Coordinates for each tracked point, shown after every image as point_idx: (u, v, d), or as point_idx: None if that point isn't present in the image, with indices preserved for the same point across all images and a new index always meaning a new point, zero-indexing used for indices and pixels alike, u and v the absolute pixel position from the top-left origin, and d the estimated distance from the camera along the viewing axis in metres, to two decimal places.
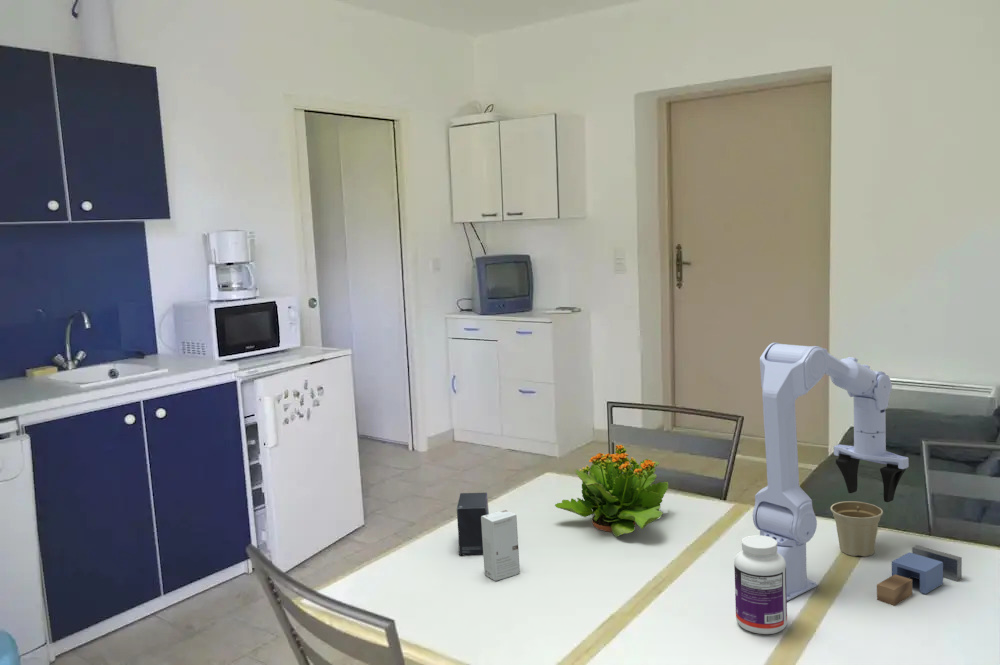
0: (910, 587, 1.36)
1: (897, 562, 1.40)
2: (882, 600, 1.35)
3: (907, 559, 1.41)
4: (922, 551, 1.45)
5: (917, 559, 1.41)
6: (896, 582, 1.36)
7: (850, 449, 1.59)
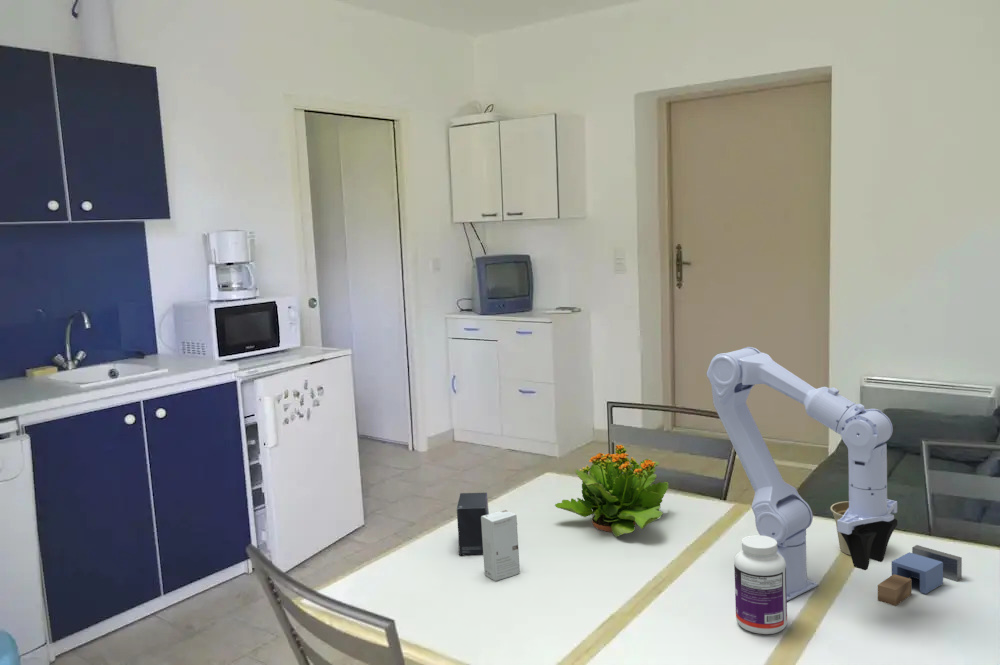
0: (909, 587, 1.36)
1: (897, 562, 1.40)
2: (883, 600, 1.35)
3: (907, 559, 1.41)
4: (922, 551, 1.45)
5: (917, 559, 1.41)
6: (896, 582, 1.36)
7: None
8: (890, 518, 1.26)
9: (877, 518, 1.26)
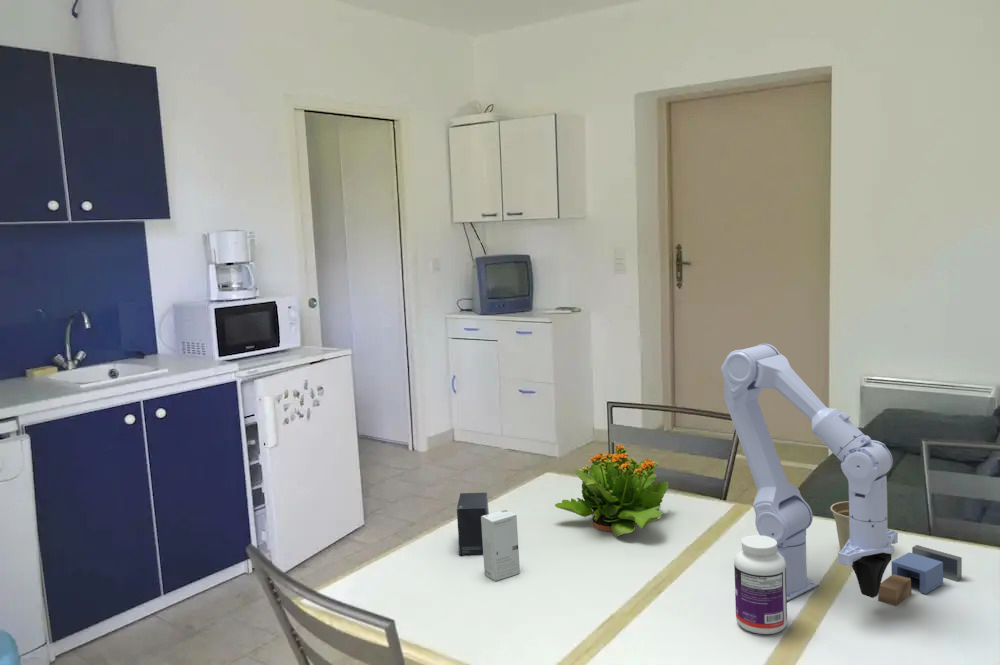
0: (909, 586, 1.36)
1: (897, 562, 1.40)
2: (884, 601, 1.34)
3: (907, 559, 1.41)
4: (922, 551, 1.45)
5: (917, 559, 1.41)
6: (896, 582, 1.36)
7: None
8: (891, 550, 1.27)
9: (878, 550, 1.27)
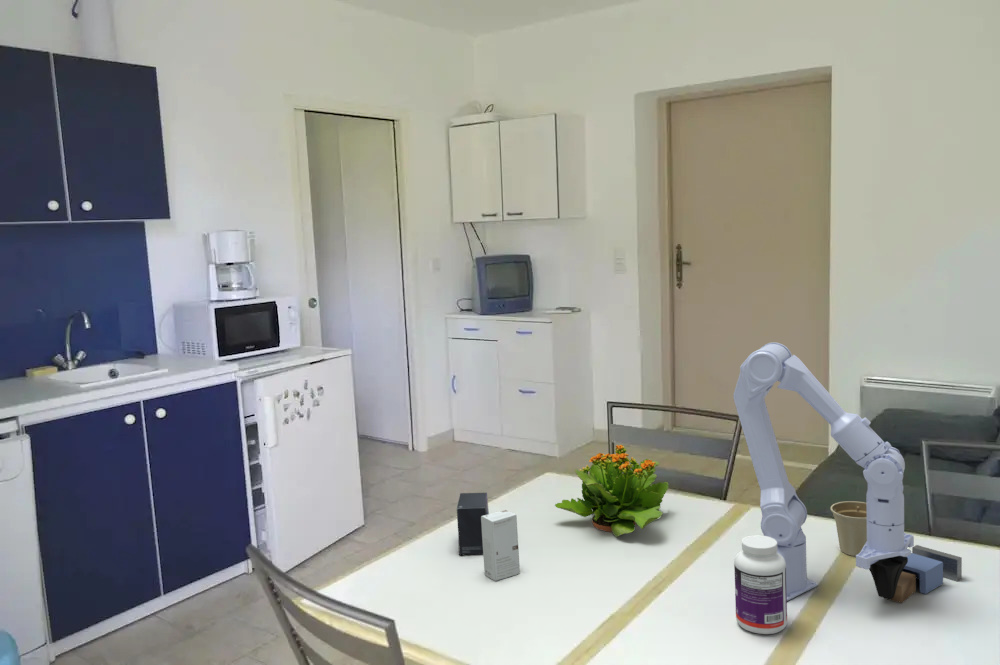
0: (914, 582, 1.37)
1: None
2: None
3: None
4: (922, 551, 1.45)
5: (917, 559, 1.41)
6: (901, 578, 1.36)
7: None
8: (907, 553, 1.30)
9: (895, 553, 1.30)
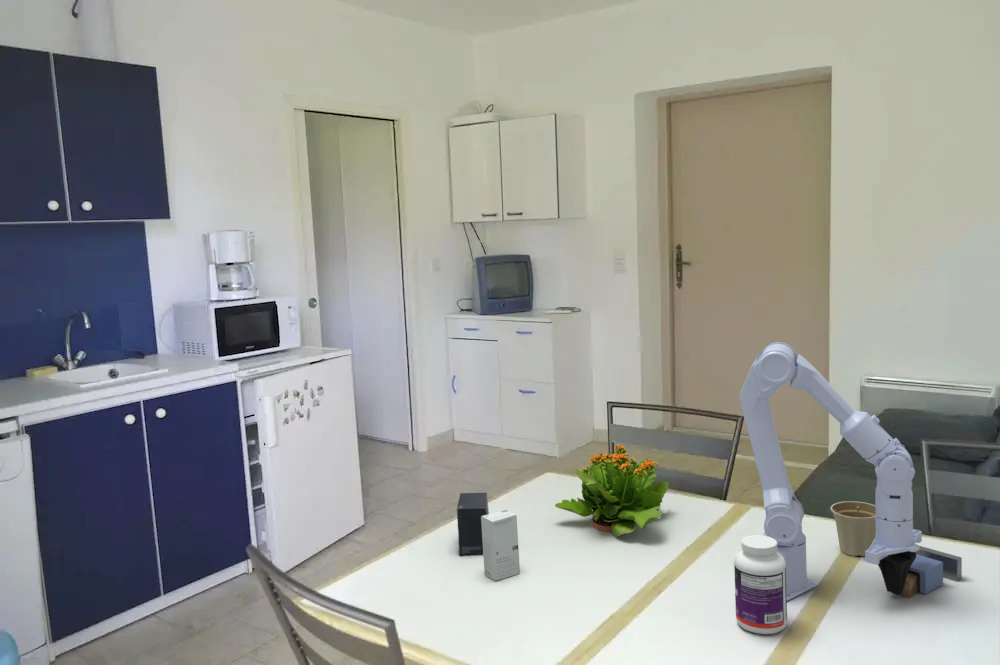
0: None
1: None
2: None
3: None
4: (922, 551, 1.45)
5: (917, 559, 1.41)
6: (909, 573, 1.38)
7: None
8: (916, 549, 1.31)
9: (903, 549, 1.32)
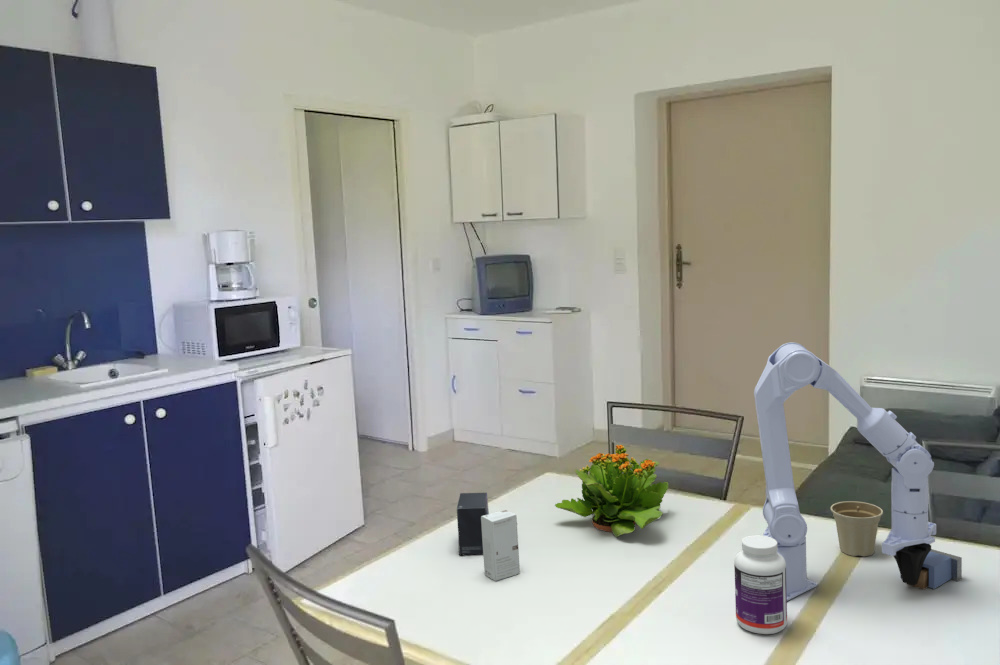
0: None
1: None
2: None
3: None
4: None
5: None
6: None
7: None
8: (931, 541, 1.34)
9: (919, 540, 1.35)
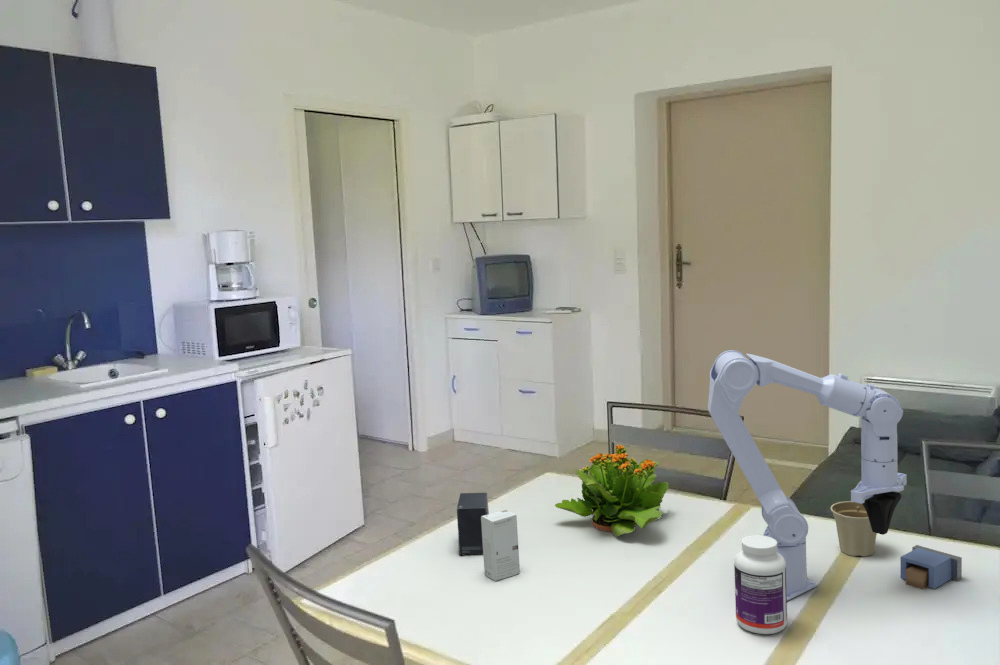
0: None
1: (906, 557, 1.42)
2: (911, 584, 1.40)
3: (915, 554, 1.43)
4: None
5: (926, 554, 1.42)
6: (924, 567, 1.41)
7: None
8: (900, 488, 1.35)
9: (888, 489, 1.35)
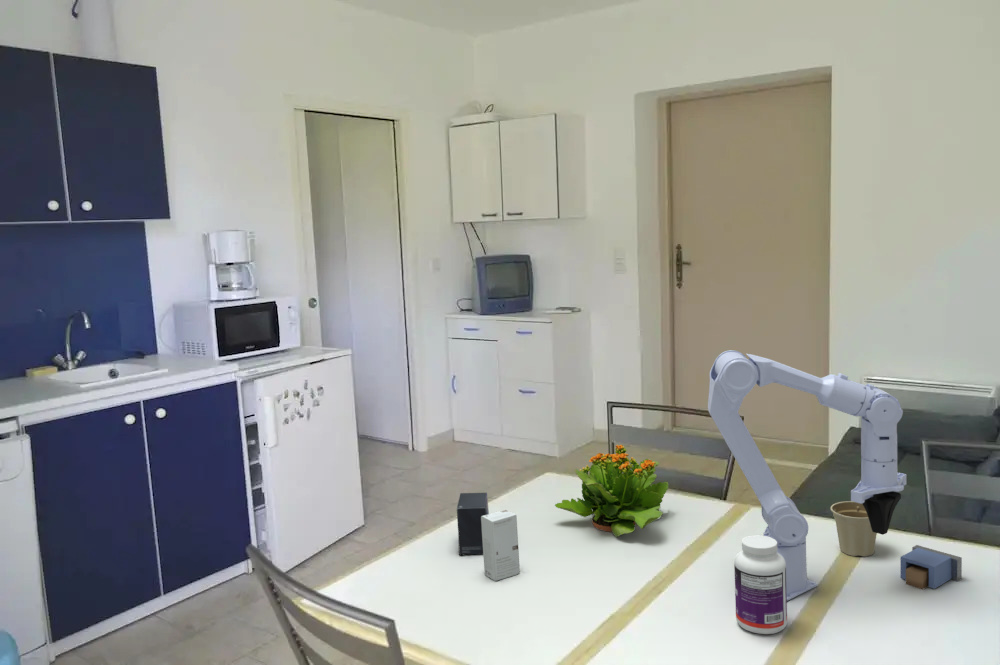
0: None
1: (906, 557, 1.42)
2: (911, 584, 1.40)
3: (915, 554, 1.43)
4: None
5: (926, 554, 1.42)
6: (924, 567, 1.41)
7: None
8: (900, 488, 1.35)
9: (888, 488, 1.35)
